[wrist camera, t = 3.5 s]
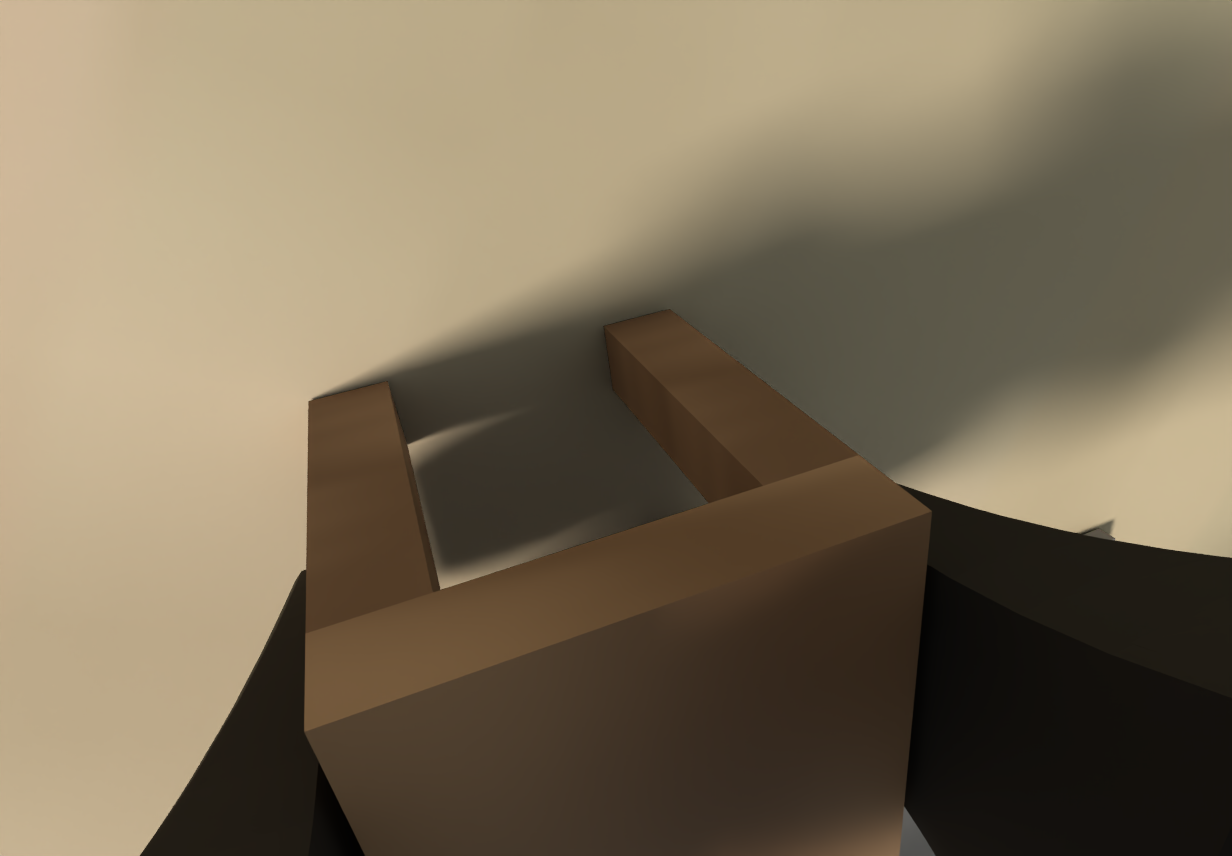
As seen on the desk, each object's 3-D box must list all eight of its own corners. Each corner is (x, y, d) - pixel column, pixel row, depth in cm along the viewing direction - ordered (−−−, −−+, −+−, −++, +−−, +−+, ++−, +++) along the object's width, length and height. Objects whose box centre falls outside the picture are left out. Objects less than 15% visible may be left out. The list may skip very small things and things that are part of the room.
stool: (410, 676, 12) (469, 1067, 8) (308, 401, 10) (304, 731, 5) (696, 577, 13) (898, 865, 9) (669, 309, 11) (931, 510, 6)
